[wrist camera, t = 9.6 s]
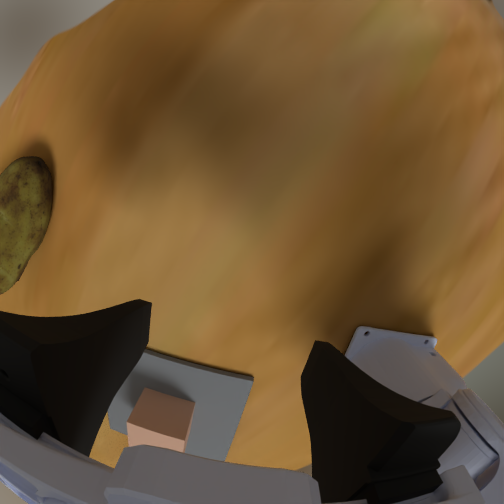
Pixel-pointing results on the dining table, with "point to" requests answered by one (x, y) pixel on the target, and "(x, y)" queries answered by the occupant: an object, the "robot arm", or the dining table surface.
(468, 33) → the dining table surface
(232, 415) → the mat
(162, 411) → the cube
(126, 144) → the dining table surface
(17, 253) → the potato
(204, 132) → the dining table surface
